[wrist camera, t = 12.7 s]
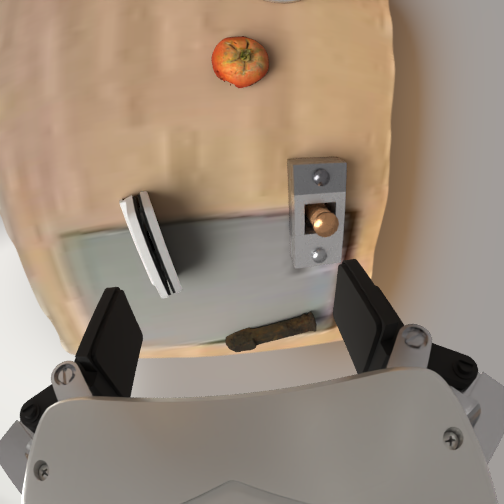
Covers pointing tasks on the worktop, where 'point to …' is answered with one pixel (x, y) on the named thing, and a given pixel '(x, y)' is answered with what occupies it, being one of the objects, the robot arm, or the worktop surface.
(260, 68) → the tomato
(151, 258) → the grey toaster
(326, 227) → the pin
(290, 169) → the grey latch plate
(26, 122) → the worktop surface
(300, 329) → the dark brown rounded rod
